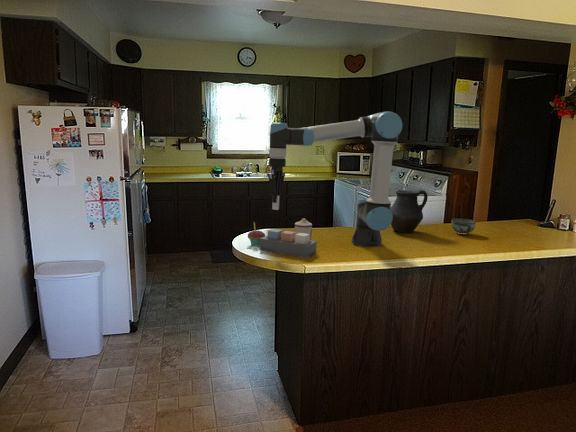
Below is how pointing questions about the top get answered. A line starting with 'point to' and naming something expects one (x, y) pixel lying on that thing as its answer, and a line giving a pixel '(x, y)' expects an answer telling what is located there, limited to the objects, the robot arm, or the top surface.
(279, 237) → the blue cube
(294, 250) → the tray
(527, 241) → the top surface
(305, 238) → the key ivory
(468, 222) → the bowl
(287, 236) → the orange cube
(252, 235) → the cupcake
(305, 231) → the teacup with lid
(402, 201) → the pitcher
